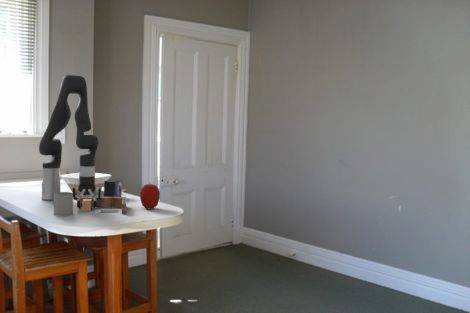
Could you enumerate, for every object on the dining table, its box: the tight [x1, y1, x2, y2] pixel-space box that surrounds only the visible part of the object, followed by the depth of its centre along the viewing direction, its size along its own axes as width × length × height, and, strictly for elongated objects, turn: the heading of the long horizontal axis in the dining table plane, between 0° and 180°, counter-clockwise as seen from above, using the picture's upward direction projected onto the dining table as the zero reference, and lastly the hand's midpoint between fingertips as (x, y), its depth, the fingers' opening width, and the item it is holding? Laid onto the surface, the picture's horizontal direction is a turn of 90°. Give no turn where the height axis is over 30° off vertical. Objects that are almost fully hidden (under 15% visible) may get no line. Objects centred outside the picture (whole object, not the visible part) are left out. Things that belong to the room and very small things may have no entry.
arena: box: [76, 196, 127, 215], centre depth 254 cm, size 24×20×5 cm
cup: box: [53, 191, 74, 217], centre depth 241 cm, size 8×8×10 cm
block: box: [81, 199, 92, 212], centre depth 254 cm, size 4×7×5 cm, turn 12°
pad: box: [100, 209, 119, 213], centre depth 252 cm, size 8×5×1 cm, turn 102°
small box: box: [103, 178, 123, 197], centre depth 289 cm, size 11×6×10 cm, turn 168°
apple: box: [139, 183, 161, 210], centre depth 261 cm, size 10×10×14 cm
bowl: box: [60, 172, 112, 195], centre depth 305 cm, size 24×25×11 cm
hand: (86, 208), depth 254 cm, fingers open, 6 cm apart
